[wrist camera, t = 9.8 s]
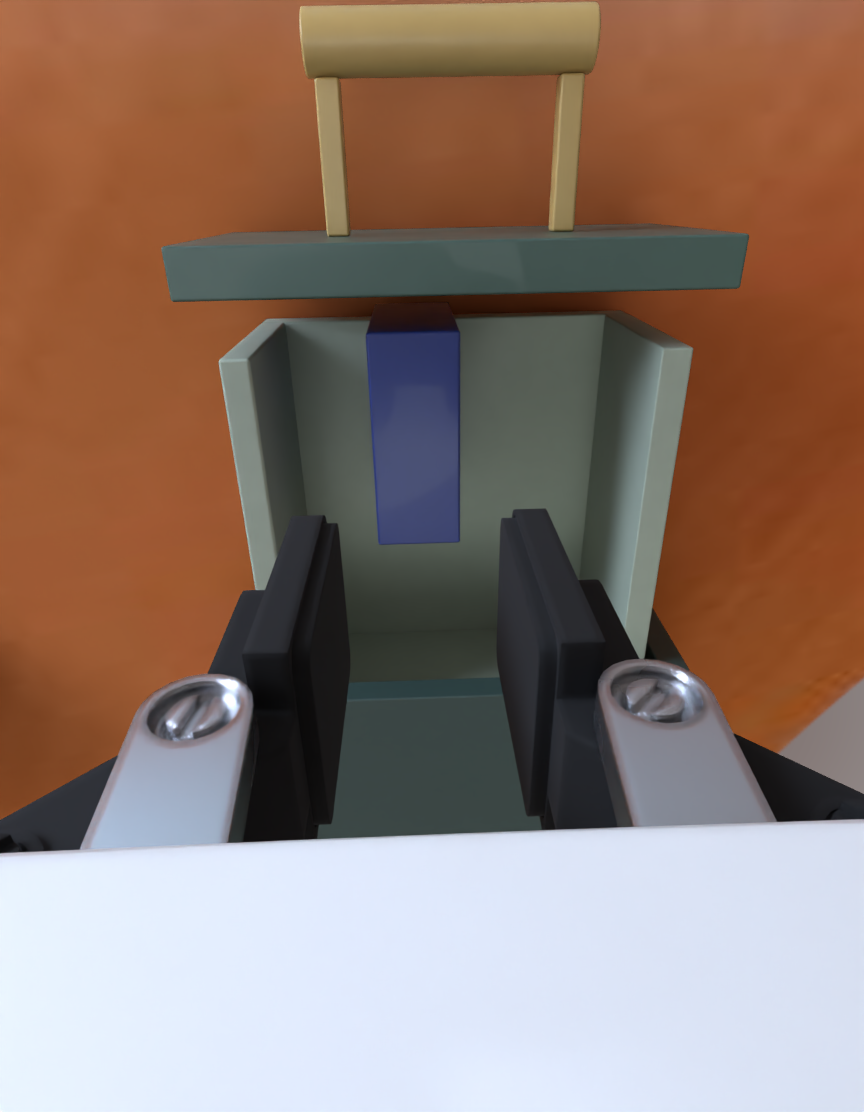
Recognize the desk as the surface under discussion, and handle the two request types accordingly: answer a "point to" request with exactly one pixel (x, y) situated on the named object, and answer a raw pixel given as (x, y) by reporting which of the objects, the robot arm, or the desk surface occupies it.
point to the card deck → (415, 421)
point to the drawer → (485, 356)
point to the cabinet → (436, 757)
